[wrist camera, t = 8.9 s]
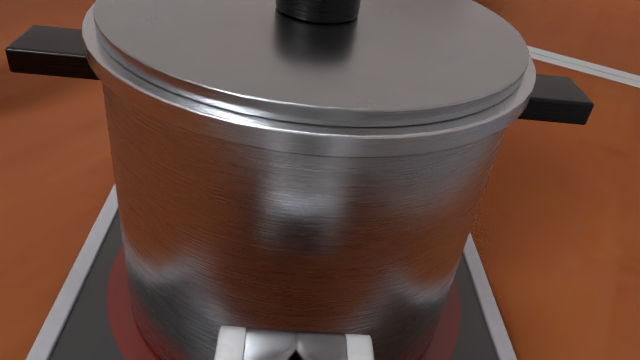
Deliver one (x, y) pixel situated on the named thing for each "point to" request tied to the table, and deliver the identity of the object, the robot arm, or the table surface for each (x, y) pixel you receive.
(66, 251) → the table surface
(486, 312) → the hob
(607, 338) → the table surface
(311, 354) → the robot arm
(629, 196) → the table surface
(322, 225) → the steel pot
